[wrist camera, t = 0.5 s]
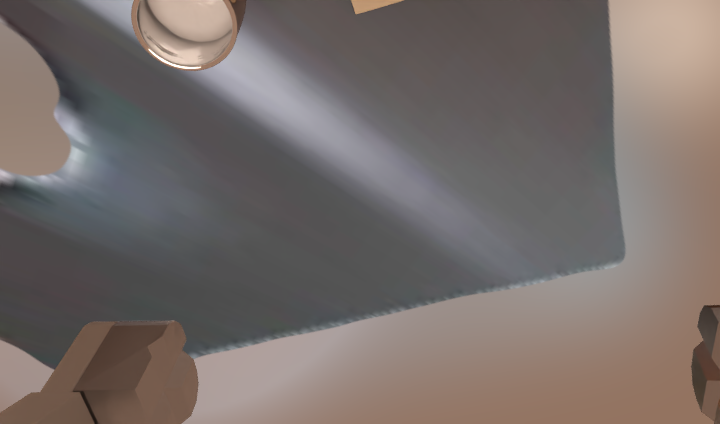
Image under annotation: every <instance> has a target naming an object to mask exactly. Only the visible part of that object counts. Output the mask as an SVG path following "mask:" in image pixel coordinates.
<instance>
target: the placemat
mask: <svg viewBox="0 0 720 424" xmlns="http://www.w3.org/2000/svg"><path fill="white" fill-rule="evenodd" d="M351 1H352V4H353V7H354V11H355V14H359V13H363V12H366V11H369V10H373V9H376V8H380V7H383V6H386V5H390V4H393V3H396V2H400V1H403V0H351Z"/></svg>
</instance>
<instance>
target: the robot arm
mask: <svg viewBox="0 0 720 424" xmlns="http://www.w3.org/2000/svg"><path fill="white" fill-rule="evenodd" d="M698 329H699V331H700V333H701V335H702V338H703V341H702V342H701V343H700V344H699V345H698V346H697V347H695V348H694V350H693V358H692V366H691V368H692V382H693V388H694V392H695V396H696V399H697V402H698V404H699V407H700V409H701V412H702V413H704V414H705V415H706V416H708V417H709V418H711V419H712V420H713V421H714V424H720V305H705V306H704V307H703V308H702V311H701V312H700V316H699V321H698ZM185 341H186V336H185V334H184V331H183V329H182V326H181V324H180V323H178V322H176V321H119V322H91V323H89V324H87V325H85V326H84V327H83V328H82V330H81V331H80V333H79V334H78V336H77V337H76V339H75V340H74V342H73V343H72V345H71V346H70V348H69V349H68V351H67V352H66V354H65V355H64V357H63V358H62V360H61V361H60V363H59V364H58V366H57V367H56V369H55V370H54V372H53V373H52V375H51V377H50V378H49V380H48V381H47V383H46V384H45V386H44V387H43V389H42V390H41V392H37V393H30V394H28V395H27V396H25V397H24V398H22V399H21V400H19V401H18V402H16V403H15V404H13V405H12V406H10V407H8V408H7V409H6V410H4V411H2V412H1V413H0V424H181V423H183V422H184V421H185V420H186V419H187V418H189V417H190V416H191V414H192V412H193V409H194V406H195V404H196V400H197V392H198V376H197V369H196V366H195V363H194V360H193V359H192V358H191V357H190V356H189V355H188V354H186V353H185V352H184V351H183V350H182V348H183V346H184V344H185Z"/></svg>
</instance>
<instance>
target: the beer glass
mask: <svg viewBox="0 0 720 424" xmlns="http://www.w3.org/2000/svg"><path fill="white" fill-rule="evenodd" d="M246 1H247V0H134V1H133V5H132V11H131V18H132V25H133V29H134V32H135V34H136V36H137V38H138V40H139V42H140V43H141V45H142V46H143V47H144V49H145V50H146V51H147V52H148V53H149V54H150V55H151V56H152V57H154V58H155V59H156V60H158V61H160V62H161V63H163V64H165V65H167V66H170V67H172V68H175V69H179V70H186V71H198V70H204V69H207V68H210V67H213V66H215V65H217V64H218V63H220V62H221V61H222V60H224V59H225V58H226V57H227V56H228V54H229V53H230V52H231V50H232V48H233V46H234V44H235V41H236V38H237V35H238V33H239V30H240V27H241V25H242V21H243V18H244V14H245V9H246Z"/></svg>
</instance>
